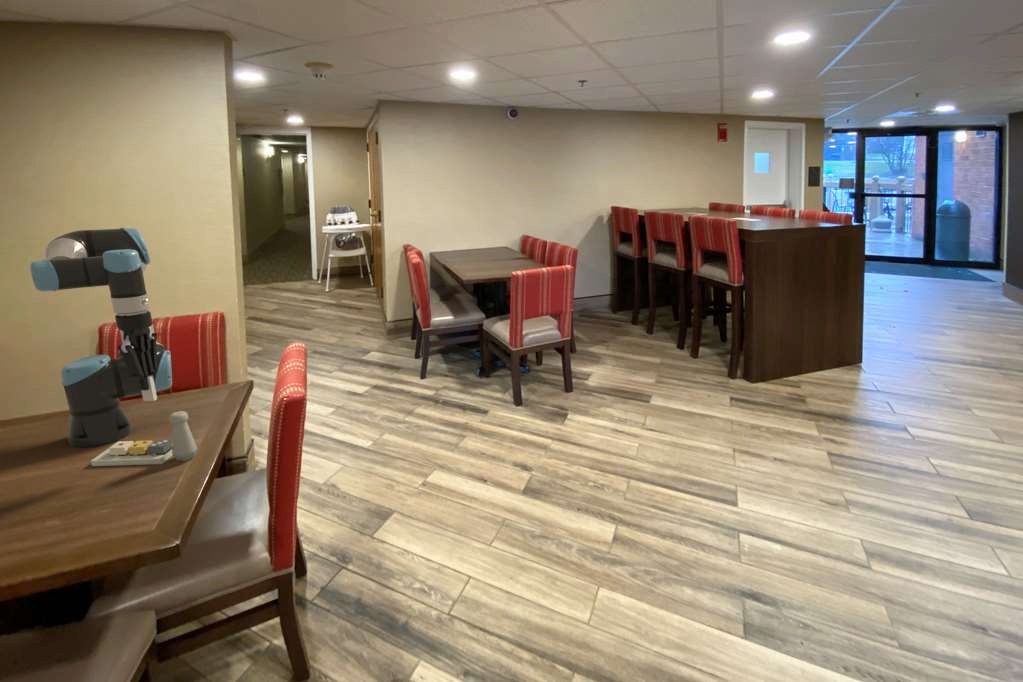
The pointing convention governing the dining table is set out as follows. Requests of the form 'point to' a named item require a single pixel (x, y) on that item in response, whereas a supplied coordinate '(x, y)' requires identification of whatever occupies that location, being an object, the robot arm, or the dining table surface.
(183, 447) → the salt shaker
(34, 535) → the dining table surface
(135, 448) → the tile
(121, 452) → the tile
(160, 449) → the tile
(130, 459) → the tile board
